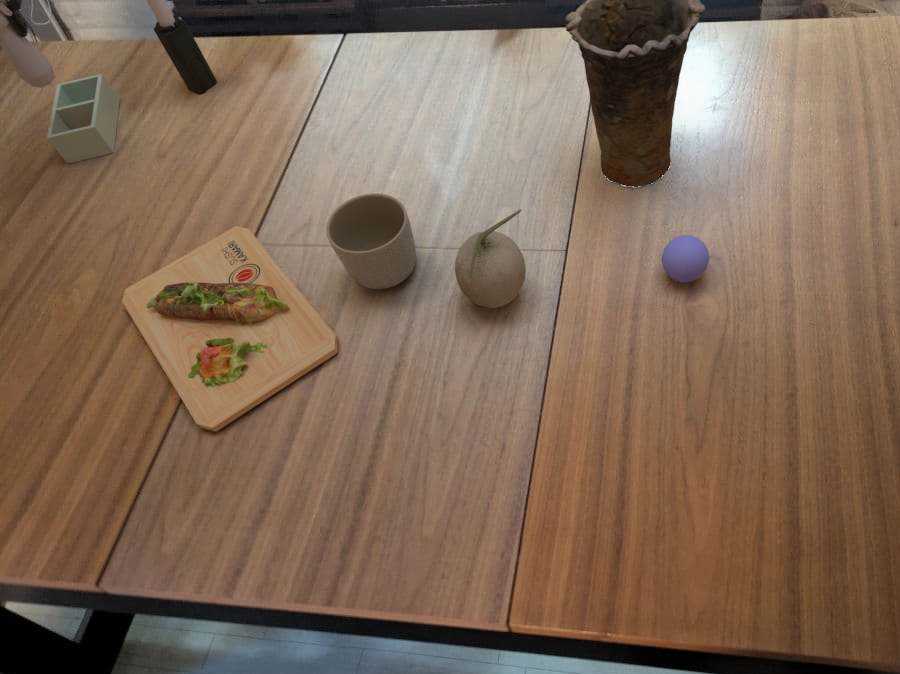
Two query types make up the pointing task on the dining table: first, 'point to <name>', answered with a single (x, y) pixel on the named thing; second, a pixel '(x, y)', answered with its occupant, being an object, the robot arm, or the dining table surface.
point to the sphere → (685, 258)
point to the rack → (84, 118)
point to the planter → (373, 240)
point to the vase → (633, 79)
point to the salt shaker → (25, 56)
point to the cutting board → (228, 327)
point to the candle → (182, 48)
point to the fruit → (490, 267)
